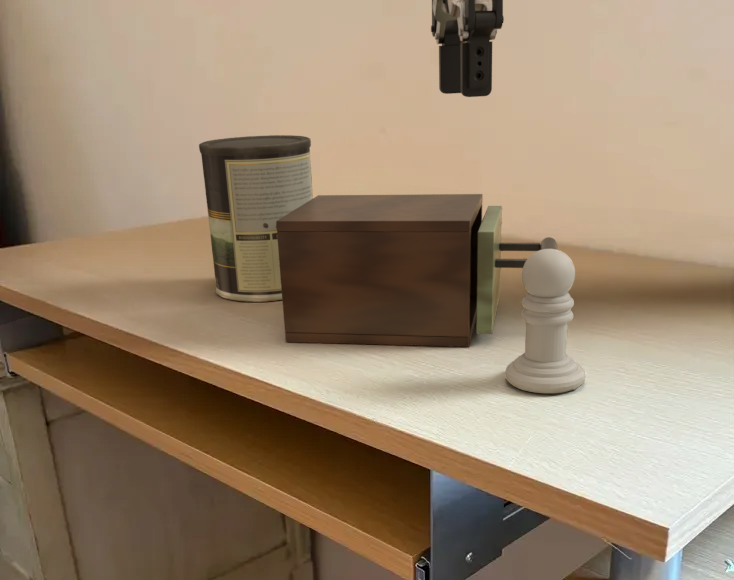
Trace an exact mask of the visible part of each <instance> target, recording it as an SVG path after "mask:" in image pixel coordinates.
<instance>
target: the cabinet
mask: <svg viewBox="0 0 734 580" xmlns="http://www.w3.org/2000/svg"><path fill="white" fill-rule="evenodd" d="M483 195H484V194H483V193H445V194H444V193H442V194H440V193H437V194H435V193H434V194H433V193H432V194H431V193H429V194H428V193H427V194H425V193H424V194H326V195H325V194H324V195H322V194H319V195H317V196H315V197H313V199H311V200H310V201H308V202H307V203H305V204H303V205H302V206H300V207H298V208H297V209H295V210H294V211H292V212H290V213H289V214H287V215H285V216H284V217H282V218H281V219H279V220H277V221H276V227H277V239H278V251H279V264H280V277H281V289H282V300H281V301H282V313H283V324H284V326H283V327H284V338H285V342H286V343H315V344H321V343H322V344H345V345H346V344H348V345H349V344H350V345H351V344H353V345H383V346H384V345H387V346H419V347H420V346H421V347H452V348H453V347H457V348H470V347H469V346H470V343H471V341H472V336H473V332H474V329H475V326H476V314H477V240H478V230H479V228H480V225H481V223H482V220H483V202H484V201H483V199H484V198H483V197H484V196H483ZM471 228H472V240H471ZM470 260H471V294H470Z"/></svg>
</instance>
